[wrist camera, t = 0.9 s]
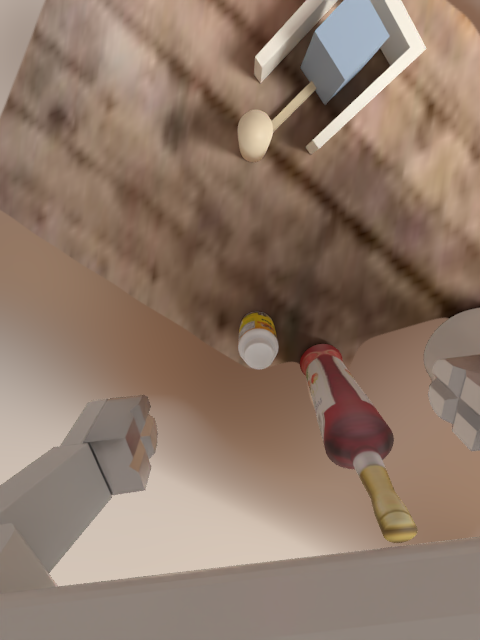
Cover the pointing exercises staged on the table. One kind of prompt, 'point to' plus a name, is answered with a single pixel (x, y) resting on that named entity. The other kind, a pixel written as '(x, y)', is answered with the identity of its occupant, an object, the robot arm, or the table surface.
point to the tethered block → (321, 68)
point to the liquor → (355, 436)
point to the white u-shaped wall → (396, 48)
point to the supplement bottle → (257, 340)
